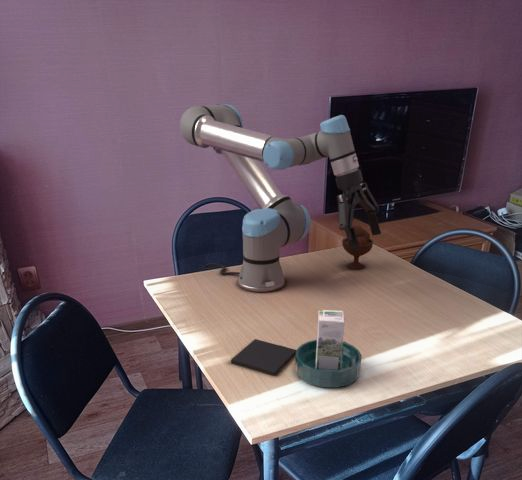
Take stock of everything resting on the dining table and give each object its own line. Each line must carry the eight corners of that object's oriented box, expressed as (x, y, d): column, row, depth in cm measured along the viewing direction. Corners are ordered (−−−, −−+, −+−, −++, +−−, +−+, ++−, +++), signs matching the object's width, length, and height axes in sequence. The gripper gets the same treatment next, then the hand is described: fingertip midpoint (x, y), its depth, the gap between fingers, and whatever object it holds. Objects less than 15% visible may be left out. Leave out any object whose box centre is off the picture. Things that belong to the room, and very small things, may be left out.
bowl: (284, 377, 117) (284, 361, 115) (311, 349, 129) (311, 333, 127) (346, 395, 111) (347, 378, 109) (368, 364, 123) (370, 348, 120)
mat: (231, 363, 123) (230, 359, 123) (255, 342, 132) (255, 338, 132) (274, 375, 118) (274, 372, 118) (296, 353, 127) (296, 349, 127)
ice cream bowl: (364, 274, 174) (368, 231, 167) (335, 268, 179) (338, 226, 172) (375, 264, 182) (380, 223, 175) (347, 259, 187) (350, 219, 180)
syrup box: (339, 363, 122) (343, 309, 115) (340, 376, 117) (344, 320, 110) (315, 362, 123) (318, 308, 115) (315, 375, 117) (318, 319, 110)
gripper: (335, 180, 137) (356, 254, 144) (378, 159, 153) (395, 226, 160) (313, 186, 142) (335, 257, 149) (357, 165, 158) (374, 230, 165)
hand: (366, 241), depth 154 cm, fingers open, 13 cm apart
